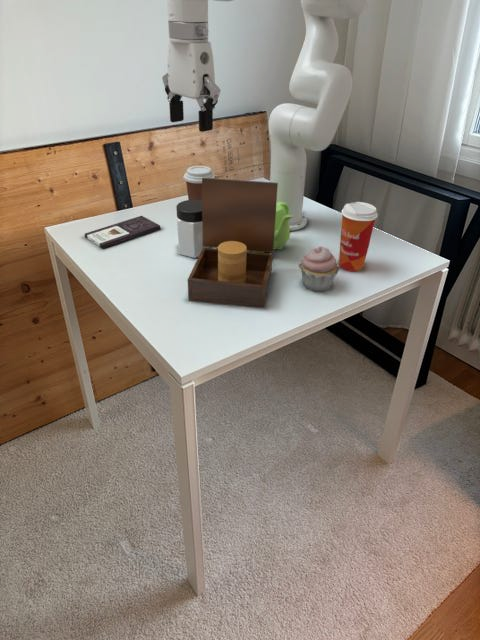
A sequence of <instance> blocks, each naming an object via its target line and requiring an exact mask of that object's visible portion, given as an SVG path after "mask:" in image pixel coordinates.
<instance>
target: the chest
mask: <svg viewBox="0 0 480 640" xmlns="http://www.w3.org/2000/svg"><path fill="white" fill-rule="evenodd" d="M273 259H274V253H270V252H264V253H258V252H254V251H247V253H246V283H237V282H227V281H218V248H214V247H210V248H203V249H202V251H201V253H200V255H199V257H197V260H196V262H195V263H194V265H193V268H192V269H191V272H190V274H189V276H188V277H187V296H188V297H187V298H188V301H190V302H201V303H208V304H209V303H211V304H218V305H229V306H239V307H248V308H250V307H251V308H258V309H259V308H260V309H265V306H266V303H267V298H268V293H269V288H270V284H271V279H272V275H273V264H274V263H273V261H274V260H273Z"/></svg>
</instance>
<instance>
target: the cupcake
mask: <svg viewBox="0 0 480 640" xmlns="http://www.w3.org/2000/svg"><path fill="white" fill-rule="evenodd" d="M300 261H301V262H300V263H298V264H297V265H298V267H299V270H300V271H299V272H300V273H301V277H302V283H303V286H304V287H305V288H306V289H308V290H310V291H313V292H325V291H327V290H329V289H330V288H331V287H332V285H333V283H334V279H335V278H336V276H337V275H338V273H339V271H340V269H341V267H340V266H339V263H338V262H337V259H336V257H335V255H334V254H332V253H331V251H330V249H329V248H327V247H326V246H322V245H319V246H317V247H314V248H311V249H309V250H308V251H307V252H306V253H305V255H303V257H302V259H301V260H300Z"/></svg>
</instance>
